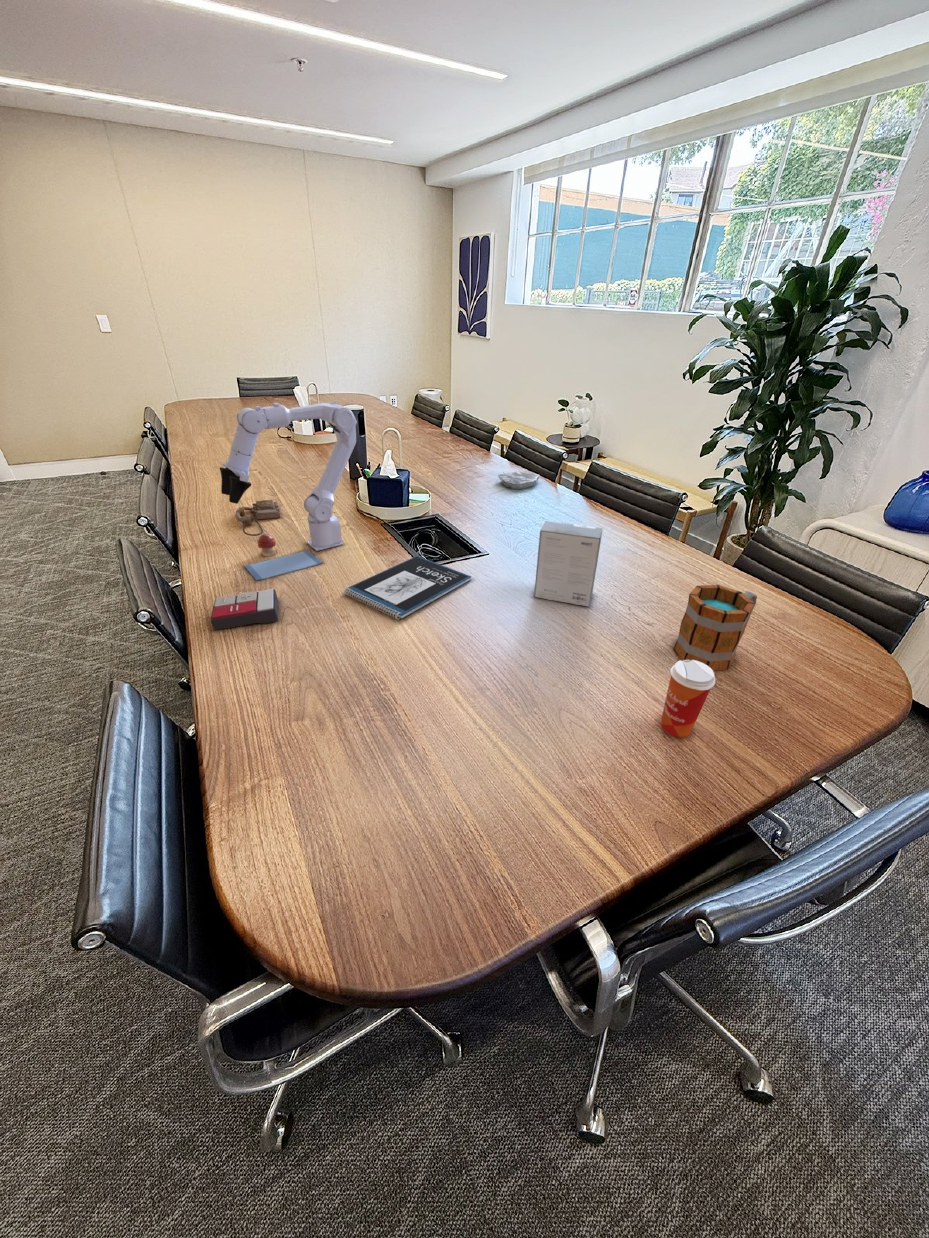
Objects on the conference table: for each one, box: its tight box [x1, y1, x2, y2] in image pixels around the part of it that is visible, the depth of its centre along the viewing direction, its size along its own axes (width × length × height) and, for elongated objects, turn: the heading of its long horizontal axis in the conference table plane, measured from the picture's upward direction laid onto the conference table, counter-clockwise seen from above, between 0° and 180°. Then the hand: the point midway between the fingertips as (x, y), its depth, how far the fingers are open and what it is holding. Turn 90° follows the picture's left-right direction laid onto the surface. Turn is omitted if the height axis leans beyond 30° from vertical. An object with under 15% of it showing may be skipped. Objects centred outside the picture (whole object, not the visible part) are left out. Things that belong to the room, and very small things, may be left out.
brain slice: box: [497, 470, 541, 490], centre depth 227 cm, size 20×17×3 cm
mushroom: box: [256, 533, 276, 557], centre depth 160 cm, size 5×5×7 cm
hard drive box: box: [533, 520, 604, 607], centre depth 137 cm, size 16×8×20 cm, turn 71°
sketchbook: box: [343, 555, 472, 621], centre depth 144 cm, size 22×30×2 cm
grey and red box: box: [210, 588, 279, 631], centre depth 130 cm, size 11×4×15 cm
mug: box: [672, 584, 758, 671], centre depth 118 cm, size 20×14×15 cm
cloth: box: [244, 549, 323, 582], centre depth 155 cm, size 20×11×1 cm, turn 127°
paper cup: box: [660, 659, 716, 738], centre depth 96 cm, size 8×8×14 cm
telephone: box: [235, 499, 281, 537], centre depth 183 cm, size 15×33×4 cm, turn 23°
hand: (229, 498), depth 146 cm, fingers open, 7 cm apart
